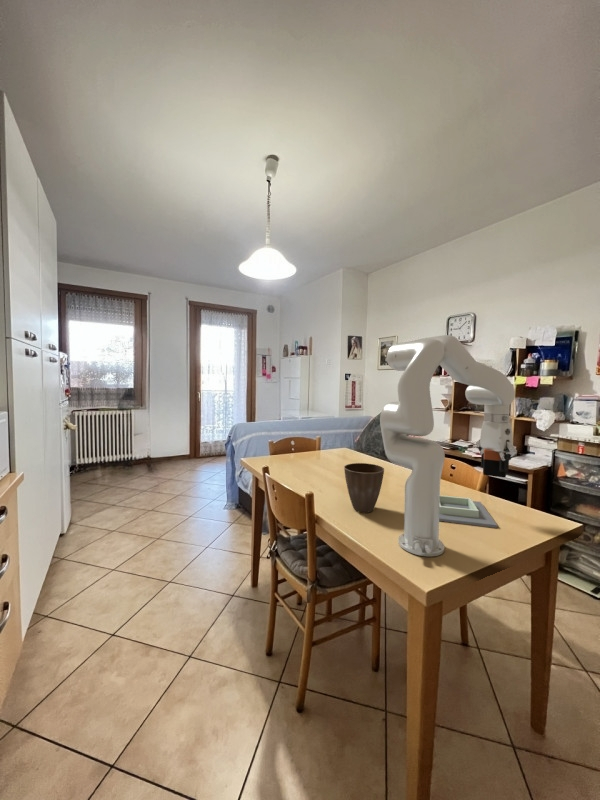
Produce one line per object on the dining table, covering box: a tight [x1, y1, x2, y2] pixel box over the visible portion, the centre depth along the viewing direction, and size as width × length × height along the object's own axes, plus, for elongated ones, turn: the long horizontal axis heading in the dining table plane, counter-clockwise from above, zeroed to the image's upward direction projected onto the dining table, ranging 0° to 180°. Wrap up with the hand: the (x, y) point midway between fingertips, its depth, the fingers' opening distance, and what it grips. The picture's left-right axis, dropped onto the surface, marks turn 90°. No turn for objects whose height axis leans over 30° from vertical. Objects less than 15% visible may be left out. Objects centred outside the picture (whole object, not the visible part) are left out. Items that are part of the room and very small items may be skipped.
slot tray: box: [439, 494, 498, 529], centre depth 118 cm, size 22×22×4 cm
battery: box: [482, 447, 507, 478], centre depth 112 cm, size 4×7×10 cm, turn 60°
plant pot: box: [343, 462, 385, 514], centre depth 120 cm, size 15×15×16 cm
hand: (494, 468), depth 112 cm, fingers closed on battery, 7 cm apart
